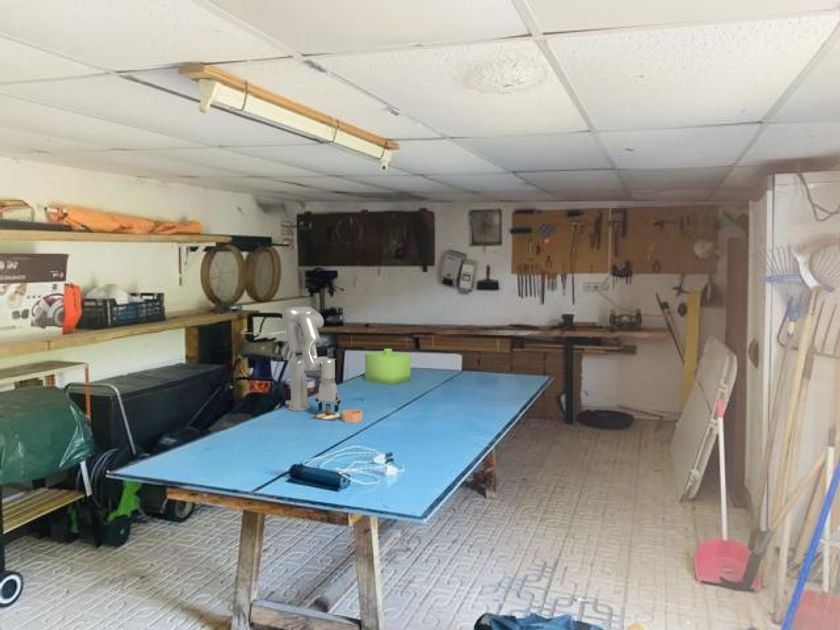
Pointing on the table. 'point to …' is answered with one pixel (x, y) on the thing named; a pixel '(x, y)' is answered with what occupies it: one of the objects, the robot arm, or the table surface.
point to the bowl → (352, 416)
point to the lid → (328, 414)
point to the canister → (387, 367)
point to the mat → (328, 420)
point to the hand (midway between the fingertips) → (328, 411)
